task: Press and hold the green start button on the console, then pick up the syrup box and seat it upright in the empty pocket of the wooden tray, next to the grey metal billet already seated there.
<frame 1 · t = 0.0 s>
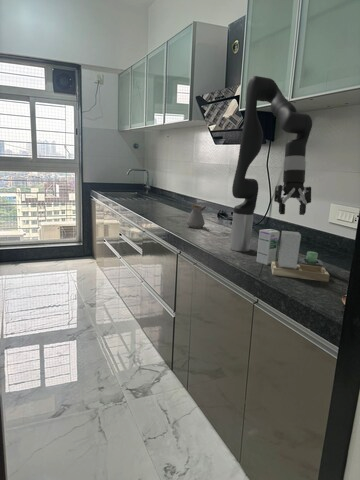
hand: (292, 214, 129), 22 cm above the table, tool pointing down, fingers open, 8 cm apart
console: (309, 270, 139), on the table
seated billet: (285, 272, 130), point 1 cm above the table, touching wooden tray
start button: (311, 258, 138), point 5 cm above the table, slide at 0.0 cm
coffee pot: (197, 229, 214), on the table
wooden tray: (297, 277, 130), on the table
syrup box: (265, 265, 143), on the table
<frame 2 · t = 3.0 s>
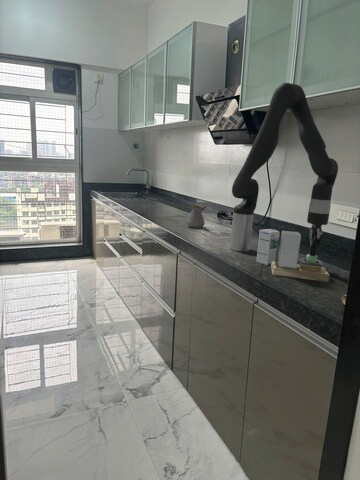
hand: (312, 255, 138), 6 cm above the table, tool pointing down, fingers closed
start button: (311, 260, 139), point 4 cm above the table, slide at 1.0 cm, touching gripper
everything else where it was.
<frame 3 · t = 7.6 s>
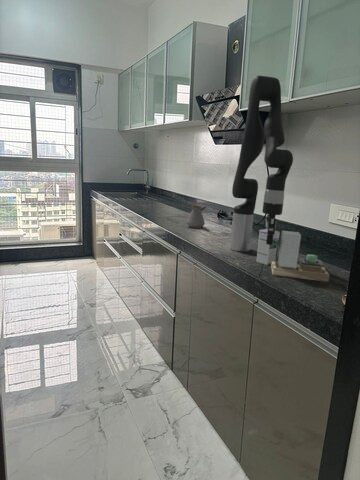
hand: (268, 242, 141), 9 cm above the table, tool pointing down, fingers open, 8 cm apart
start button: (311, 261, 139), point 4 cm above the table, slide at 1.2 cm
everything else where it was.
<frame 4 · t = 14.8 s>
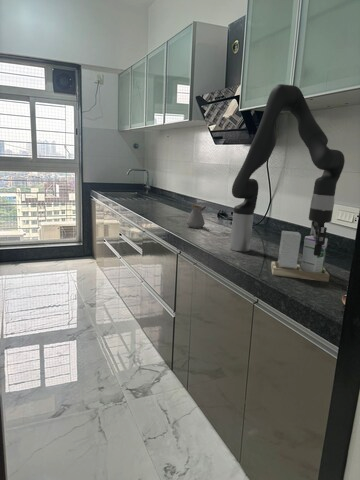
hand: (314, 252, 127), 10 cm above the table, tool pointing down, fingers open, 8 cm apart
syrup box: (310, 275, 129), point 1 cm above the table, touching gripper, wooden tray
everything else where it was.
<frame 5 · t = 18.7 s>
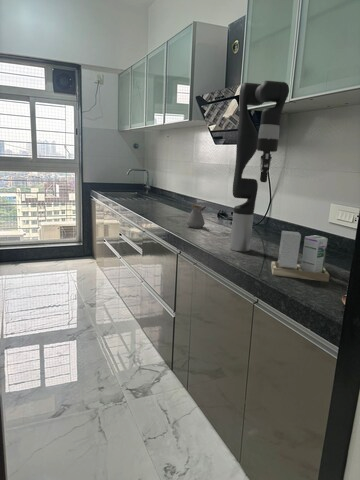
hand: (263, 181, 136), 33 cm above the table, tool pointing down, fingers open, 8 cm apart
syrup box: (310, 276, 129), point 1 cm above the table, touching wooden tray
everything else where it was.
at the end: syrup box 0.2 cm from the target spot on the wooden tray, point 1.0 cm above the wooden tray's base; syrup box tilted 0°; the gripper is holding nothing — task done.
